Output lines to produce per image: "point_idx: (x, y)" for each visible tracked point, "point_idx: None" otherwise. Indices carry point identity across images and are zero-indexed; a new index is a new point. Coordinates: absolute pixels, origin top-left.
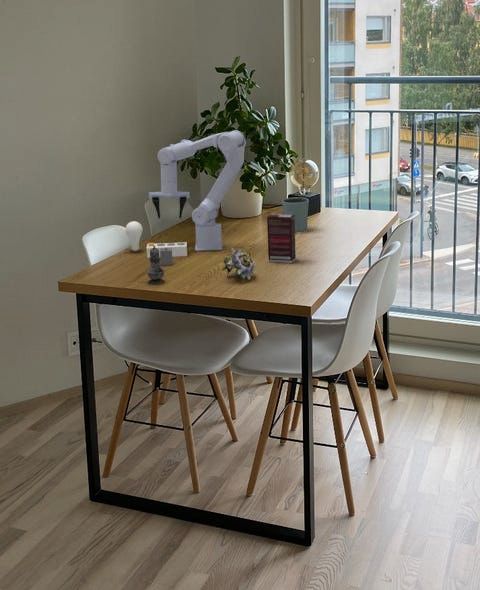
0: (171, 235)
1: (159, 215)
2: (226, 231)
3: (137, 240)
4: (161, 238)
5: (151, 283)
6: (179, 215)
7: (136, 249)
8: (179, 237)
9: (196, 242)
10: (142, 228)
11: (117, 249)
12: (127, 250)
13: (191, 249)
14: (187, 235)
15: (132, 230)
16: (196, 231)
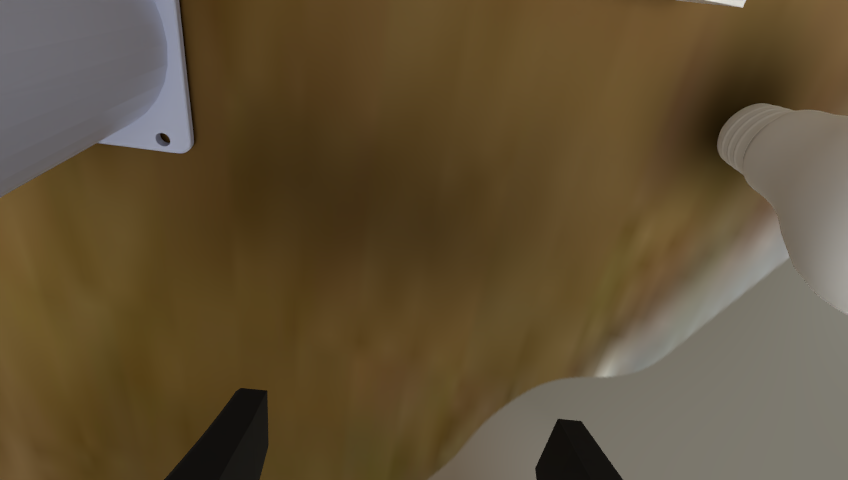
0: (374, 442)
1: (583, 453)
2: (15, 448)
3: (816, 123)
4: (444, 403)
5: None
6: (250, 420)
7: (756, 106)
8: (327, 398)
9: (131, 21)
10: (835, 220)
11: None
12: None
13: (227, 24)
14: (273, 424)
15: None
16: (14, 9)
